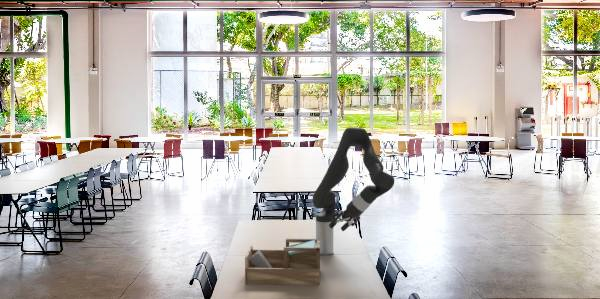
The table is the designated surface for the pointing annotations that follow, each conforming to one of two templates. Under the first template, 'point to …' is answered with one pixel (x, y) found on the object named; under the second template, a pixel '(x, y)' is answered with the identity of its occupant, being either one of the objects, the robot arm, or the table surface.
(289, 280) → the trapdoor frame
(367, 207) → the robot arm
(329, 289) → the table surface
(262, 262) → the granite stone
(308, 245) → the trapdoor
